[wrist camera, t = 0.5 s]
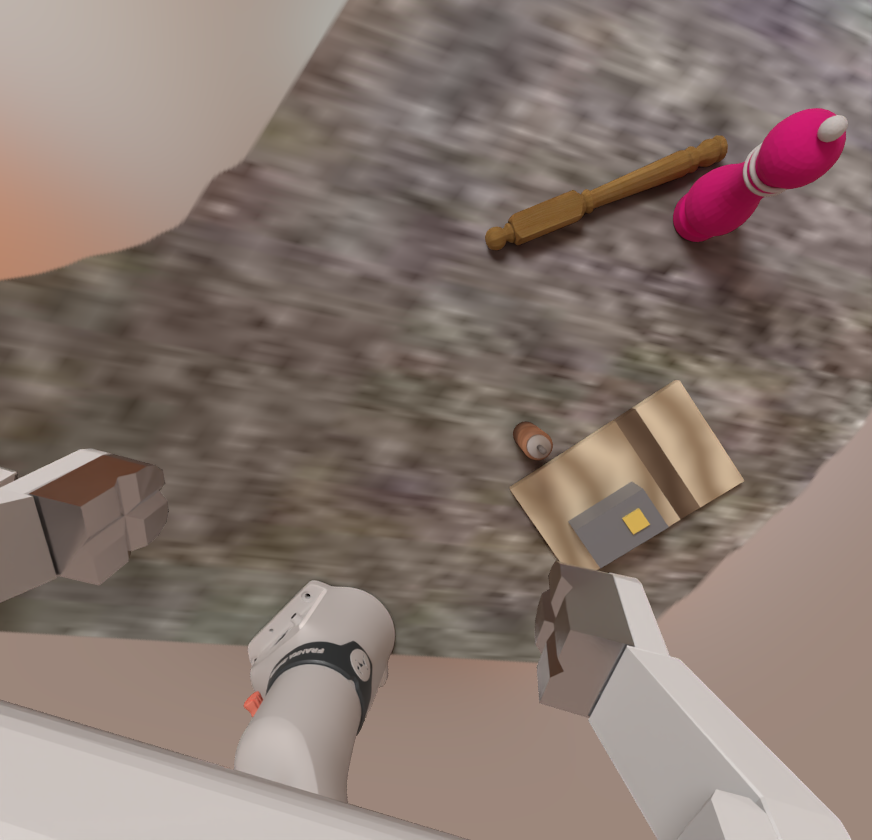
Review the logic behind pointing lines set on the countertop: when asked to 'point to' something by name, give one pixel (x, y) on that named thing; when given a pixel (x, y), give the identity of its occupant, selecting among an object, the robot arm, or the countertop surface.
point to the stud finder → (618, 524)
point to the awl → (532, 440)
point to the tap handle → (603, 194)
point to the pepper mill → (762, 174)
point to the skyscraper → (7, 476)
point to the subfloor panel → (630, 470)
